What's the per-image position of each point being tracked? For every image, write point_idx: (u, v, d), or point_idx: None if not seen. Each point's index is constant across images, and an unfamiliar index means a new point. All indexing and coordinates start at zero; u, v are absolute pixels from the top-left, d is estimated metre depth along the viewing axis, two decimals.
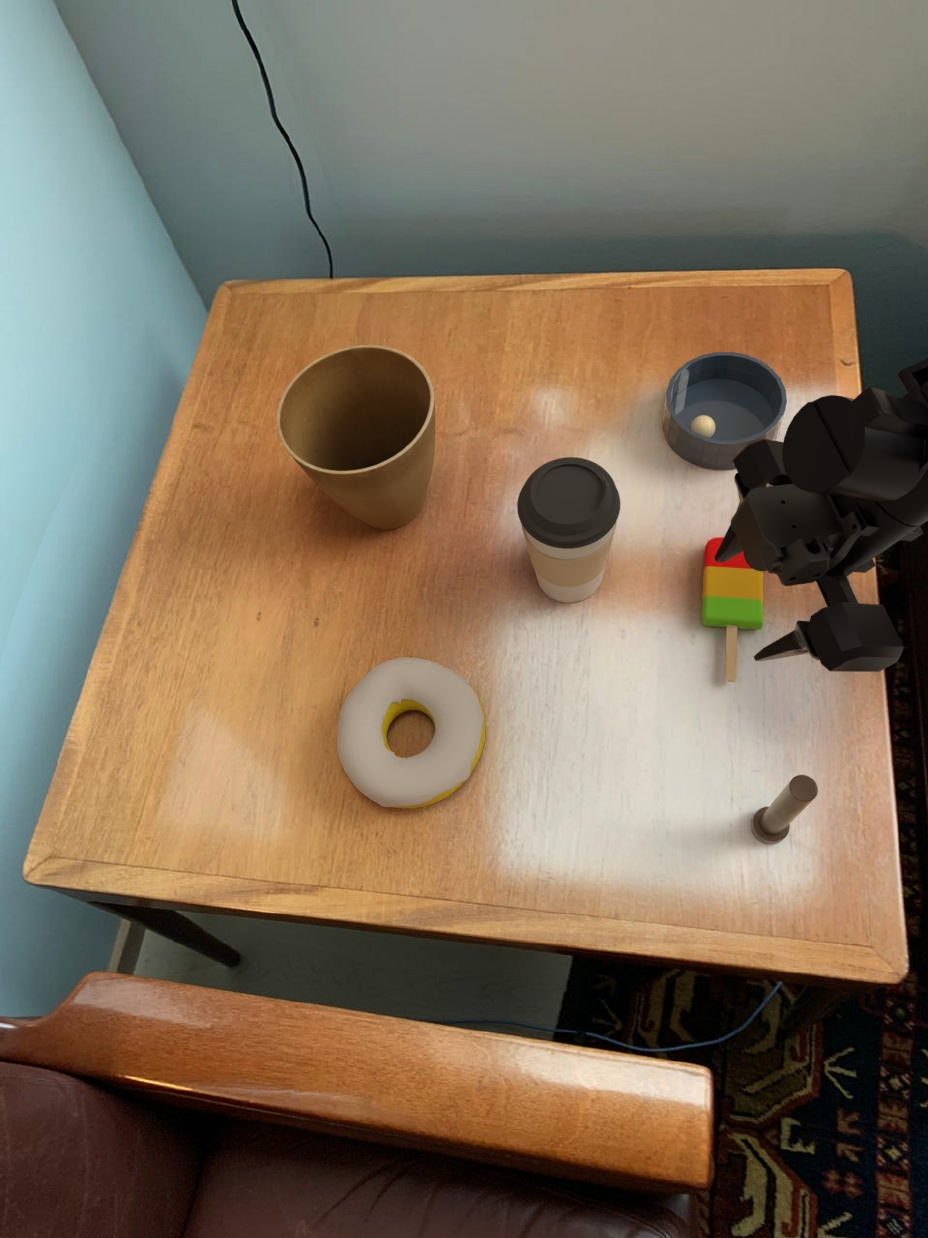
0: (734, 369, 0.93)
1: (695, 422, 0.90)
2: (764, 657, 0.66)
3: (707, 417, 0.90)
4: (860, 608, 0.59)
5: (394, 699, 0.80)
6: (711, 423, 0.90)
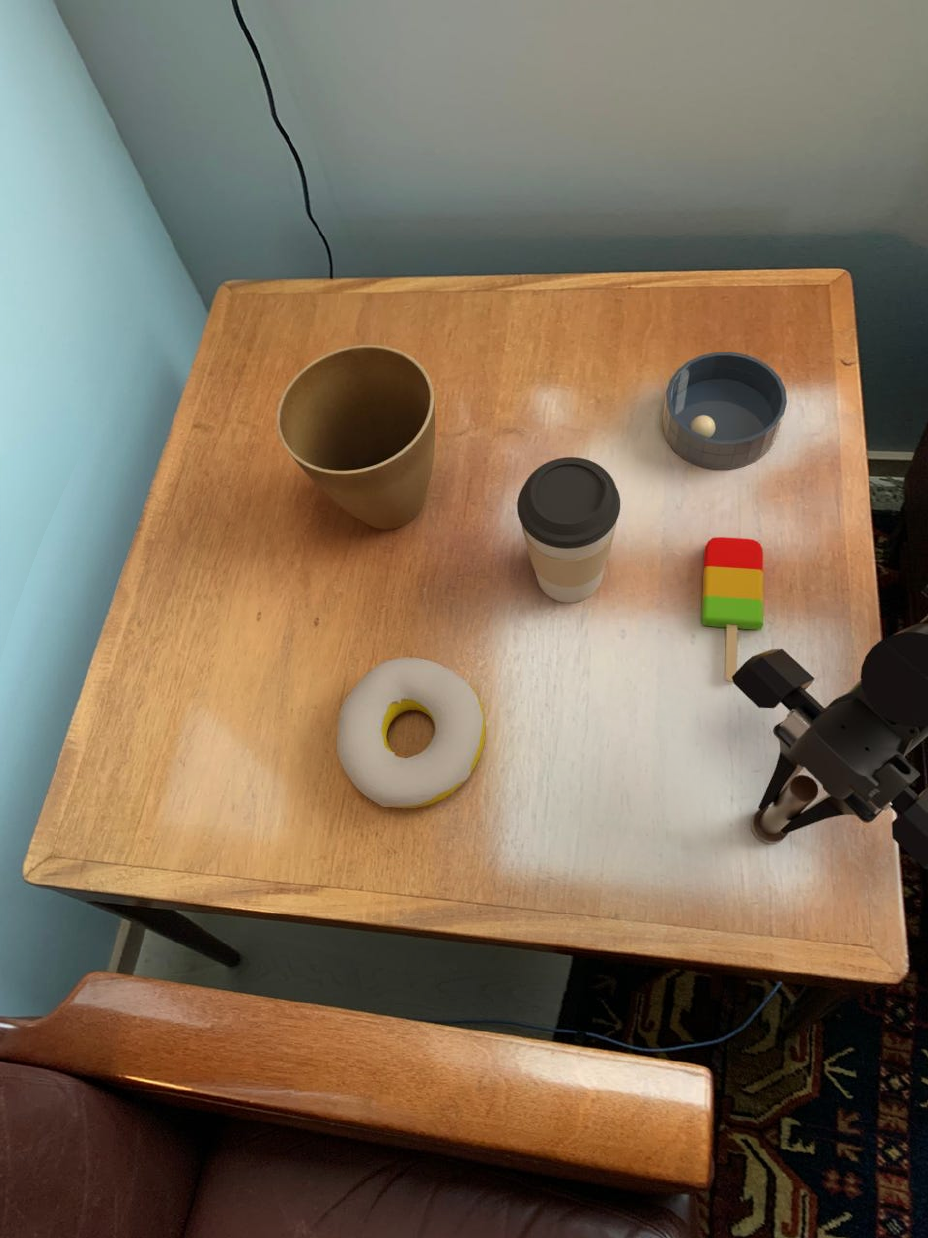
0: (734, 369, 0.93)
1: (695, 422, 0.90)
2: (795, 829, 0.67)
3: (707, 417, 0.90)
4: (926, 799, 0.61)
5: (394, 699, 0.80)
6: (711, 423, 0.90)
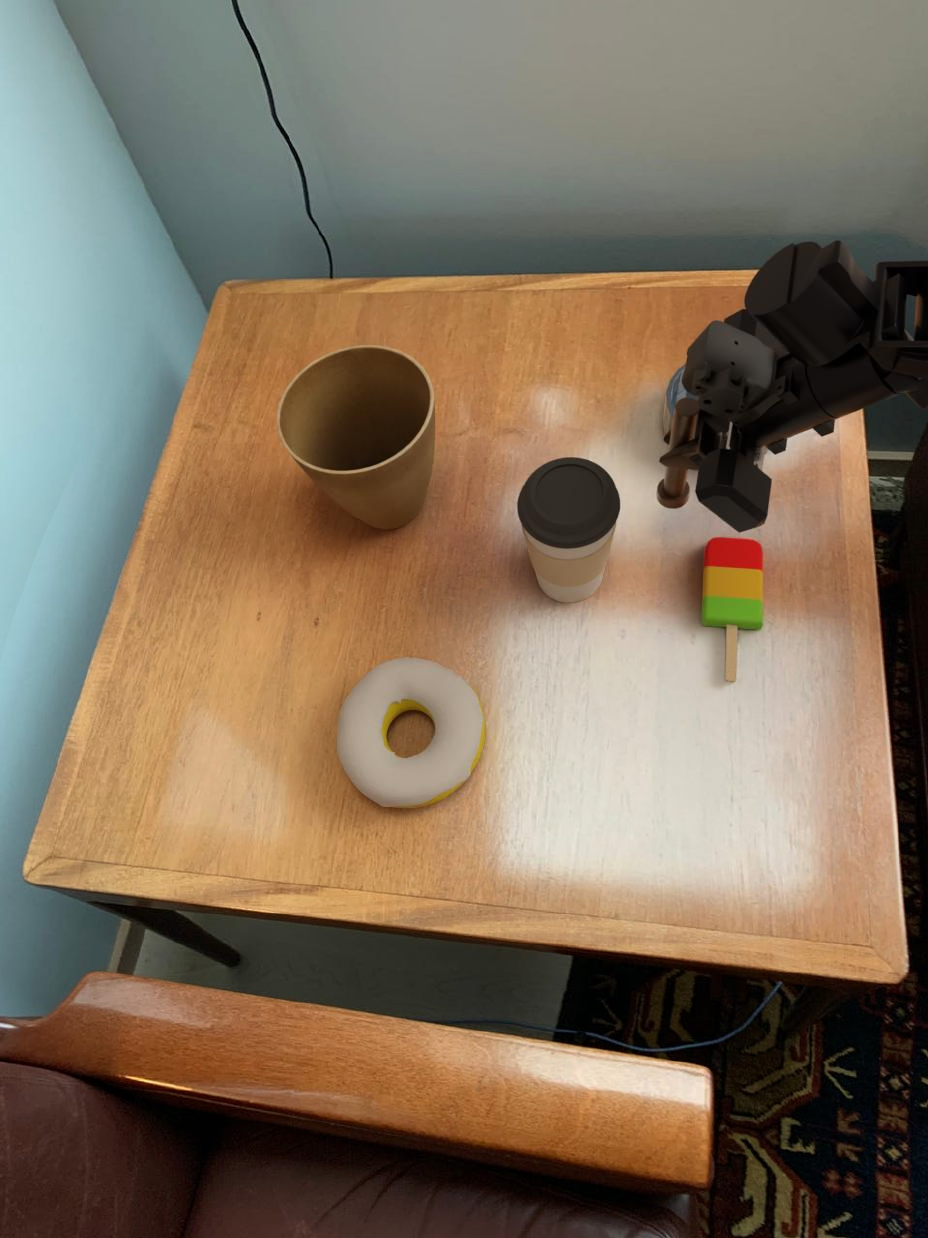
0: None
1: None
2: (666, 458, 0.75)
3: None
4: (750, 466, 0.66)
5: (394, 699, 0.80)
6: None
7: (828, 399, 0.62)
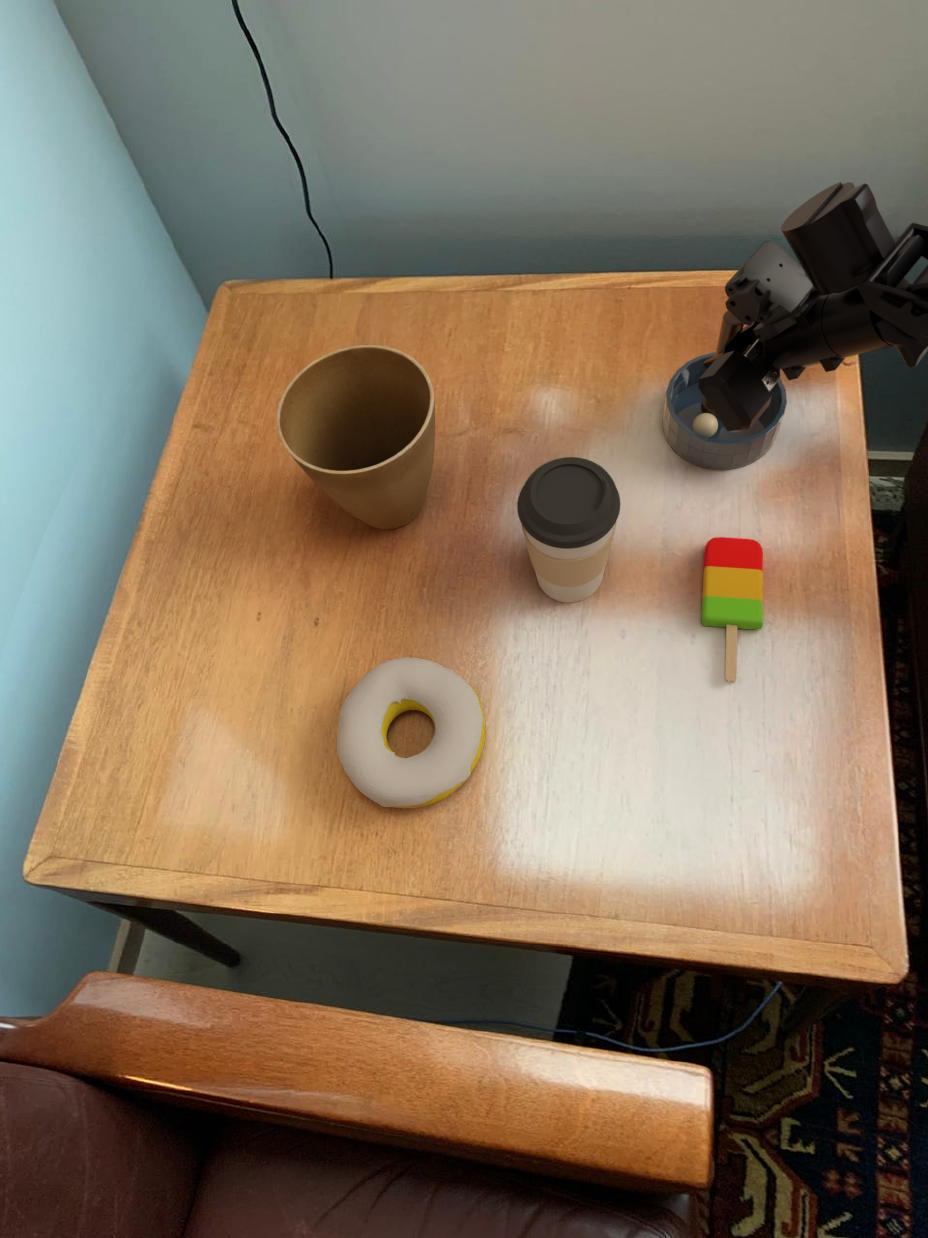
0: None
1: (700, 417, 0.90)
2: (708, 361, 0.85)
3: (711, 414, 0.90)
4: (754, 375, 0.76)
5: (394, 699, 0.80)
6: (715, 420, 0.90)
7: (831, 332, 0.71)
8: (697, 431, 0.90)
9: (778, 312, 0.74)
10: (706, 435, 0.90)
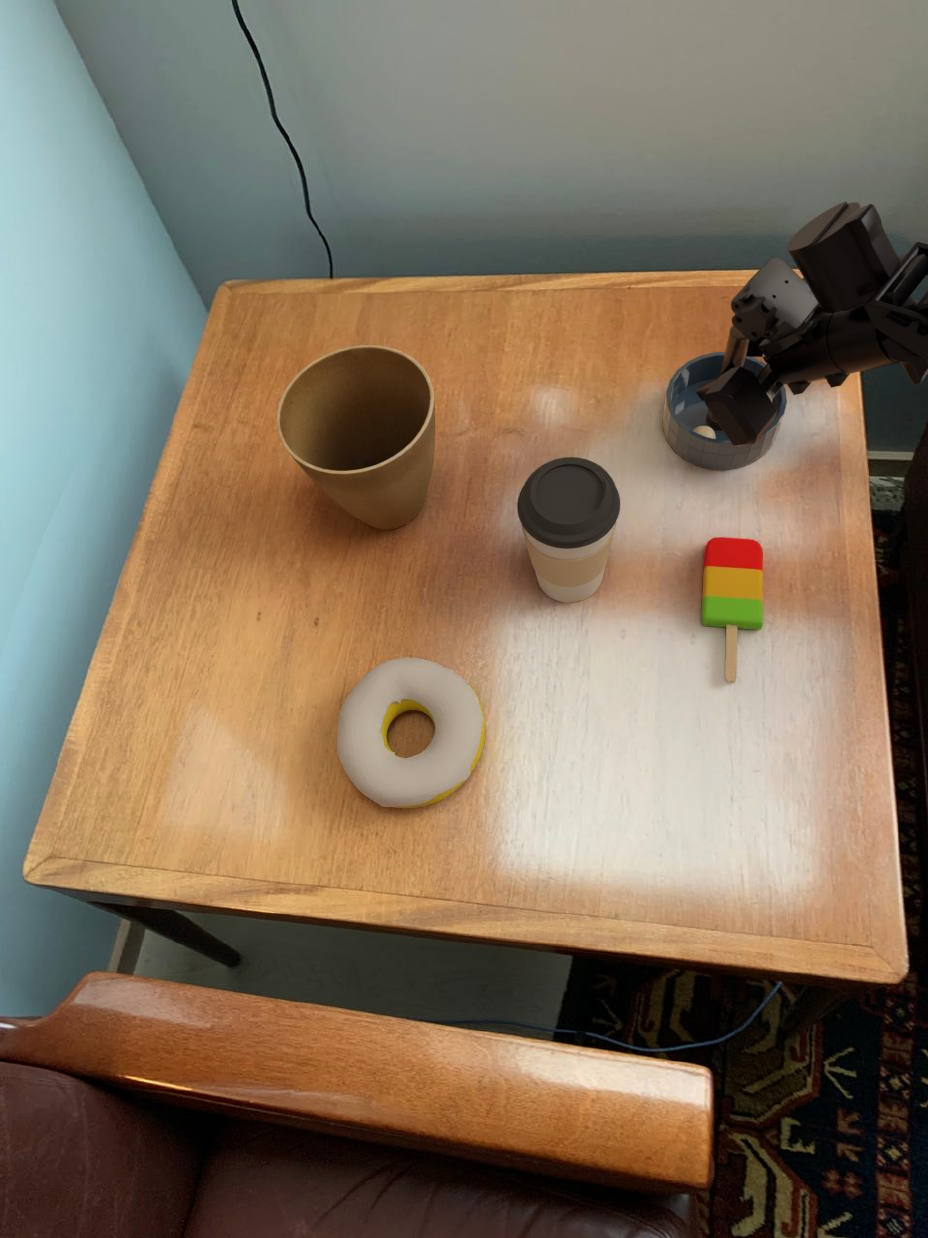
0: None
1: None
2: (701, 390, 0.85)
3: None
4: (760, 390, 0.77)
5: (394, 699, 0.80)
6: None
7: (837, 349, 0.72)
8: None
9: (784, 328, 0.74)
10: None
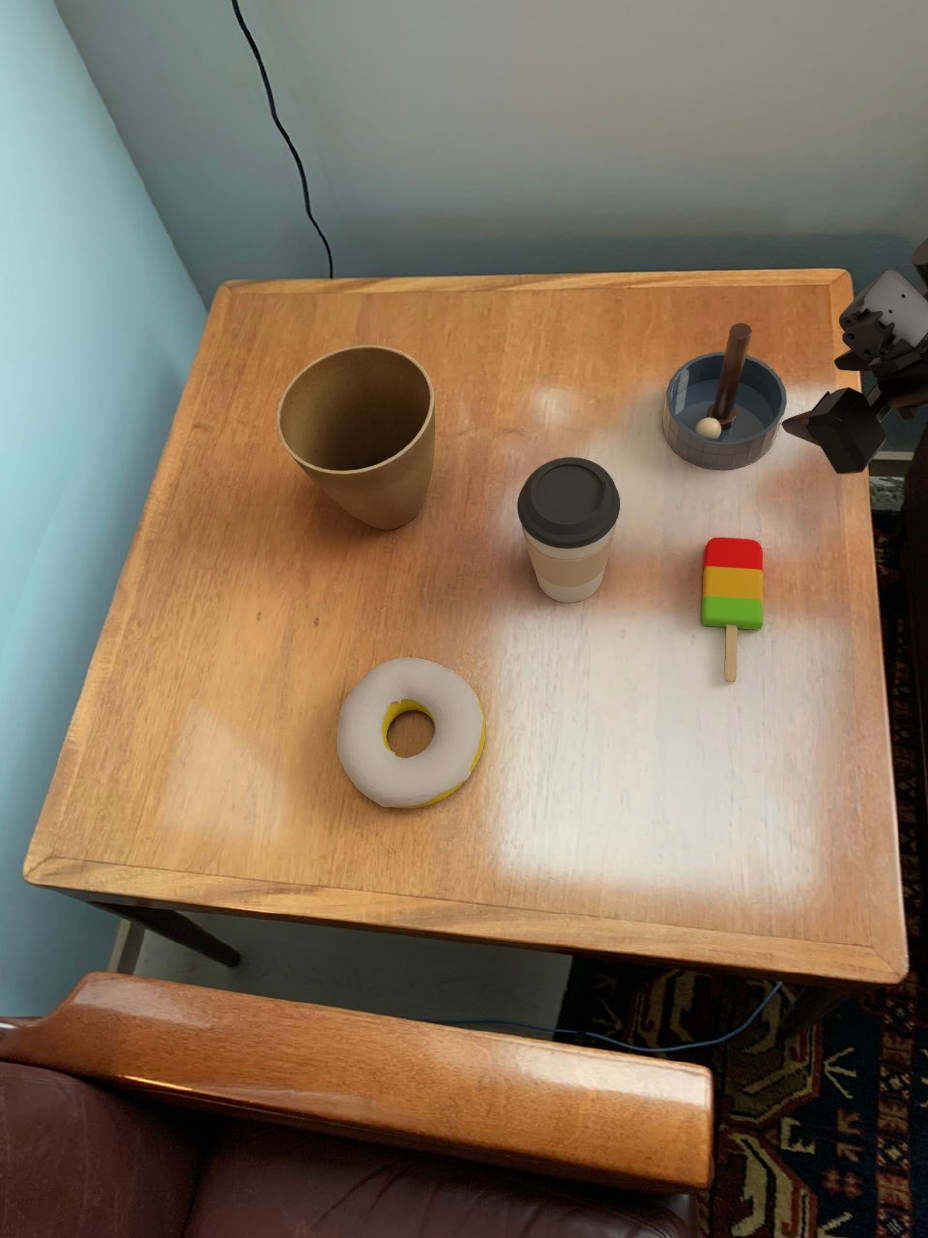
0: None
1: (705, 424, 0.90)
2: (788, 422, 0.78)
3: (717, 422, 0.90)
4: (870, 414, 0.70)
5: (394, 699, 0.80)
6: (719, 430, 0.90)
7: None
8: None
9: (900, 346, 0.68)
10: None
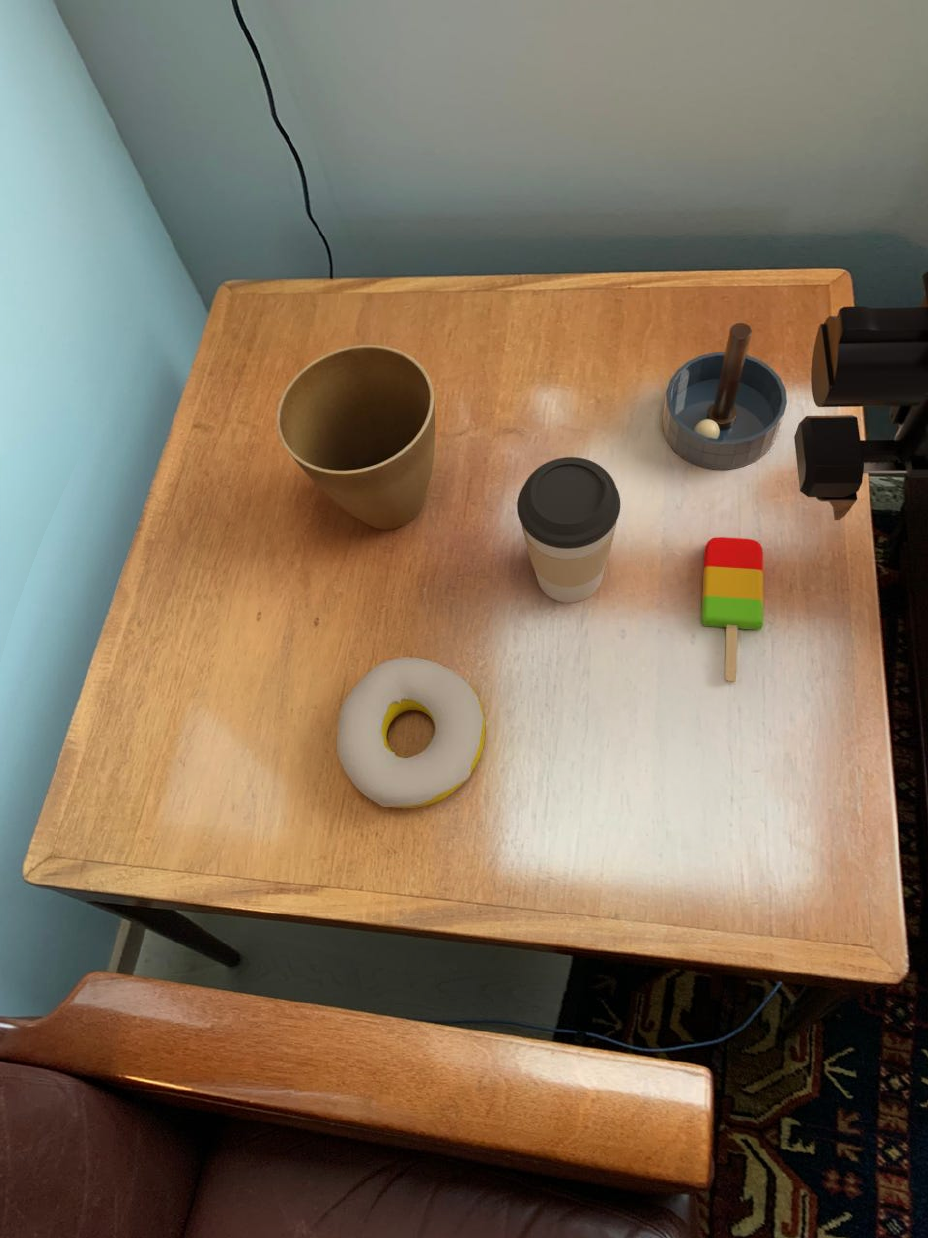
0: None
1: (702, 428, 0.90)
2: None
3: (714, 425, 0.89)
4: (853, 435, 0.64)
5: (394, 699, 0.80)
6: (717, 432, 0.90)
7: None
8: None
9: None
10: None
